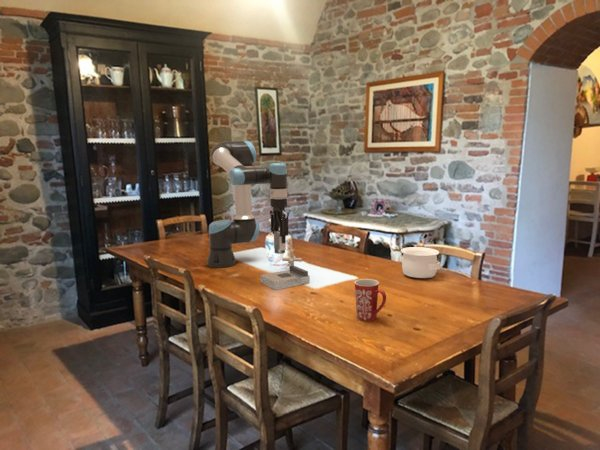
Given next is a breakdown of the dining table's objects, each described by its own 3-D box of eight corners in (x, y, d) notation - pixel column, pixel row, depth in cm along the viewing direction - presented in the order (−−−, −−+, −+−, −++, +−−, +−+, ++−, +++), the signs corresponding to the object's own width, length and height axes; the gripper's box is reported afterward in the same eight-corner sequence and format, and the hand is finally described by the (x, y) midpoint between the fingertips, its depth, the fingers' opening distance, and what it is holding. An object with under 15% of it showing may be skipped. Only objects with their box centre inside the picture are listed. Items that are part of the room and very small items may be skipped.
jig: (260, 282, 218) (260, 270, 217) (293, 276, 227) (293, 265, 226) (275, 290, 206) (275, 277, 205) (309, 283, 216) (309, 271, 215)
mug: (348, 317, 173) (349, 282, 171) (364, 311, 179) (364, 277, 177) (376, 326, 164) (376, 289, 162) (391, 319, 170) (392, 284, 168)
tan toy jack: (299, 272, 234) (299, 252, 232) (280, 271, 236) (280, 252, 234) (303, 267, 243) (303, 248, 242) (285, 266, 245) (284, 247, 244)
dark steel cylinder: (272, 252, 214) (272, 230, 213) (281, 250, 217) (281, 229, 215) (277, 254, 210) (277, 232, 209) (287, 252, 213) (286, 231, 211)
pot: (449, 277, 223) (450, 252, 221) (429, 284, 212) (430, 258, 209) (410, 268, 239) (411, 244, 237) (389, 274, 228) (390, 250, 226)
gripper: (262, 196, 215) (263, 246, 219) (280, 200, 200) (282, 253, 204) (276, 195, 219) (277, 244, 223) (296, 199, 204) (296, 251, 208)
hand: (279, 248), depth 213 cm, fingers closed on dark steel cylinder, 5 cm apart
